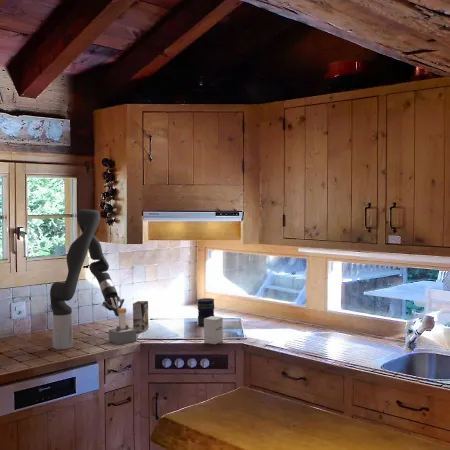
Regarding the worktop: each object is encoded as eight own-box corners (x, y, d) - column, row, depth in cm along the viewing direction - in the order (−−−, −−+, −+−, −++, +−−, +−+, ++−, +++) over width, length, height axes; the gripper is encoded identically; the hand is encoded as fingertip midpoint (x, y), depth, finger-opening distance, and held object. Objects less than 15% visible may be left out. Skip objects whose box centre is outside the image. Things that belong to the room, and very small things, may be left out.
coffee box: (143, 332, 312) (143, 303, 311) (132, 331, 313) (132, 303, 313) (149, 328, 321) (148, 300, 320) (138, 328, 322) (137, 300, 322)
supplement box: (215, 344, 283) (215, 319, 283) (203, 342, 287) (203, 318, 286) (223, 341, 289) (223, 317, 289) (211, 339, 293) (211, 315, 293)
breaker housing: (109, 341, 294) (108, 325, 294) (128, 337, 300) (127, 322, 300) (117, 344, 286) (116, 329, 285) (136, 341, 292) (136, 325, 292)
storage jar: (204, 327, 321) (204, 301, 320) (194, 324, 328) (194, 299, 328) (218, 324, 327) (217, 299, 326) (208, 322, 335) (207, 297, 334)
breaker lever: (118, 329, 293) (117, 308, 292) (124, 328, 295) (123, 307, 295) (120, 330, 291) (119, 309, 290) (126, 329, 293) (126, 308, 292)
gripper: (98, 286, 299) (108, 313, 290) (121, 284, 307) (132, 309, 298) (95, 295, 304) (105, 321, 294) (117, 292, 311) (127, 317, 302)
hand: (118, 315), depth 296 cm, fingers closed
